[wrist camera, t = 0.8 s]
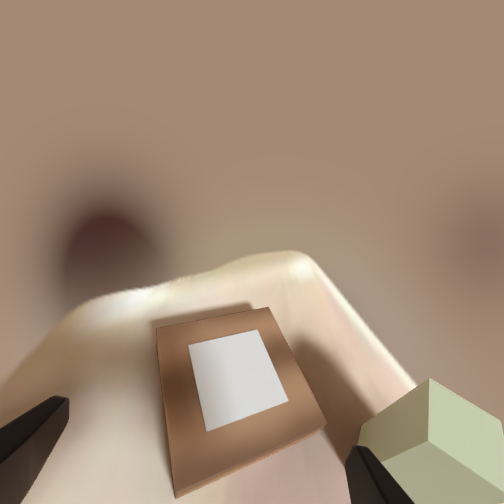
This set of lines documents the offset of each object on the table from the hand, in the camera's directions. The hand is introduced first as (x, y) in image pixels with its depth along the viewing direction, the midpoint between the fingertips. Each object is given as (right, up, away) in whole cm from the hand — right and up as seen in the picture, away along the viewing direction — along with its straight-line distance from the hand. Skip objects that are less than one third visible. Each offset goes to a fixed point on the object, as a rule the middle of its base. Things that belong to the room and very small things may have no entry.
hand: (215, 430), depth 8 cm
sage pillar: (+12, -13, +14) cm, 23 cm away
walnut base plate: (-1, -7, +16) cm, 18 cm away
